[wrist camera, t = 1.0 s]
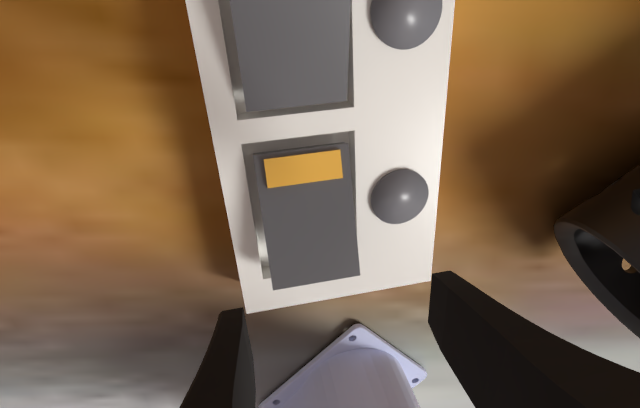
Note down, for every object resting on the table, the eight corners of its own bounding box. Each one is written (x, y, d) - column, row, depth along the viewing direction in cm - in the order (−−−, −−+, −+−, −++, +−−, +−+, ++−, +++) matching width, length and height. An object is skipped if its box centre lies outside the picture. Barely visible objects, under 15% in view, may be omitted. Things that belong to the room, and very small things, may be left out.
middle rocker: (341, 89, 17) (347, 102, 16) (244, 99, 16) (247, 114, 15) (345, -86, 13) (355, -80, 12) (217, -81, 12) (218, -74, 11)
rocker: (354, 267, 19) (361, 276, 18) (271, 281, 19) (273, 292, 18) (342, 142, 18) (349, 143, 17) (252, 153, 17) (253, 155, 16)
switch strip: (412, 255, 24) (432, 282, 22) (245, 283, 23) (246, 316, 20) (457, -524, 11) (516, -658, 9) (84, -568, 10) (40, -738, 8)
